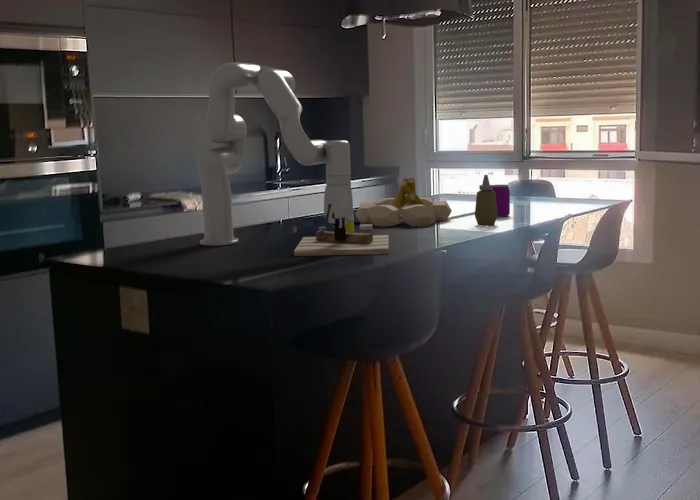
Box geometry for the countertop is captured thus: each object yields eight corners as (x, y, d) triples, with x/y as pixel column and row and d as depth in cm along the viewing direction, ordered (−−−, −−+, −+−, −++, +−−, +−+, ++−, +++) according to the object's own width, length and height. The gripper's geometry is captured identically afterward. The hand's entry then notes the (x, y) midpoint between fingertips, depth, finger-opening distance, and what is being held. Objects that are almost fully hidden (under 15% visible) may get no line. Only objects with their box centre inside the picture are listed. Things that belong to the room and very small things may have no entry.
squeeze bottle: (487, 227, 292) (487, 176, 289) (470, 225, 298) (469, 175, 295) (502, 224, 297) (502, 174, 294) (484, 223, 303) (484, 173, 300)
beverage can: (487, 217, 319) (487, 186, 317) (492, 214, 326) (492, 184, 324) (507, 217, 316) (507, 186, 314) (511, 215, 323) (511, 184, 321)
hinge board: (303, 241, 273) (302, 223, 272) (388, 239, 272) (388, 221, 271) (294, 256, 246) (293, 236, 245) (388, 253, 244) (388, 233, 243)
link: (313, 240, 263) (313, 232, 263) (320, 238, 266) (320, 230, 266) (367, 243, 253) (366, 235, 253) (373, 241, 256) (373, 233, 256)
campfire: (421, 230, 292) (420, 181, 289) (341, 225, 310) (339, 180, 308) (464, 218, 321) (463, 174, 318) (388, 214, 339) (387, 172, 337)
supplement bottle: (330, 236, 281) (329, 199, 279) (343, 234, 286) (342, 197, 284) (344, 238, 277) (343, 200, 275) (358, 235, 282) (357, 198, 279)
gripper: (341, 178, 262) (343, 236, 265) (314, 182, 249) (316, 243, 252) (361, 179, 258) (363, 237, 261) (335, 183, 245) (337, 244, 248)
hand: (340, 240), depth 256 cm, fingers closed
